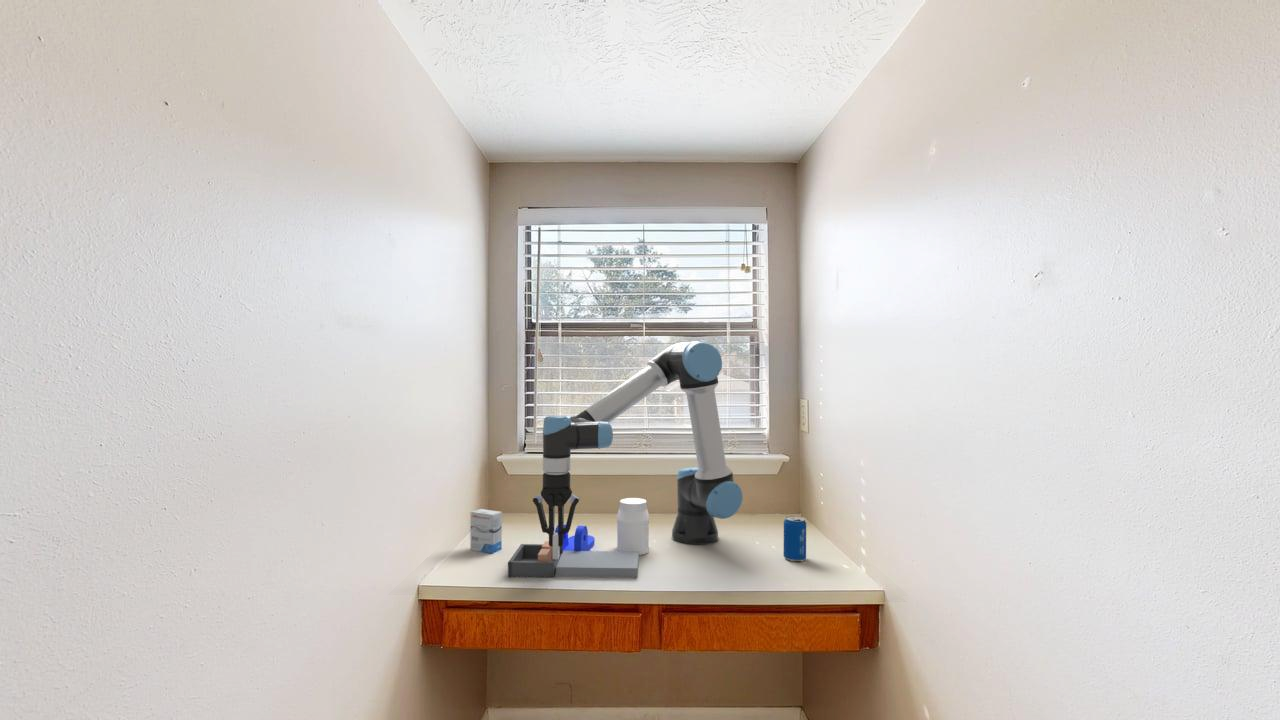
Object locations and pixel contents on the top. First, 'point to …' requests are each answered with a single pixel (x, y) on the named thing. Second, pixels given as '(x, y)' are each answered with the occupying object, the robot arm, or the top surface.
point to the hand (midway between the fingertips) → (556, 557)
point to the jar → (633, 526)
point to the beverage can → (794, 538)
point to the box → (531, 563)
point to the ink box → (486, 531)
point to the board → (598, 564)
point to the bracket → (577, 540)
